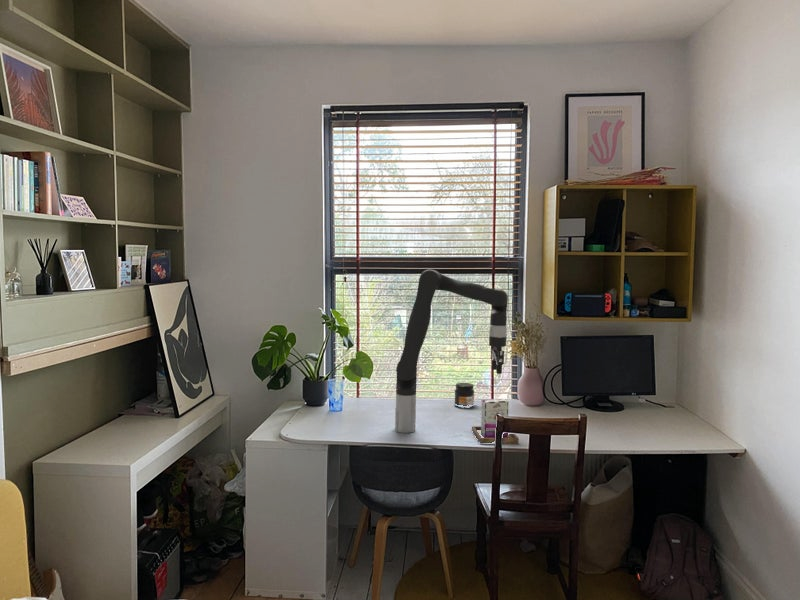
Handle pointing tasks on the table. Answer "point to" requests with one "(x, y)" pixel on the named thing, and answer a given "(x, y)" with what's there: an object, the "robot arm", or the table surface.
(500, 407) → the candy bar box
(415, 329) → the robot arm
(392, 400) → the table surface
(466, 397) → the supplement container
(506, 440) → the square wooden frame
